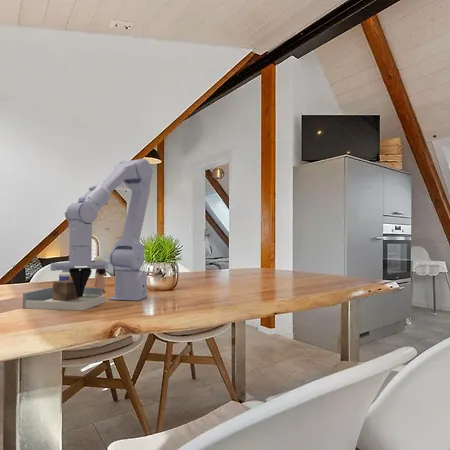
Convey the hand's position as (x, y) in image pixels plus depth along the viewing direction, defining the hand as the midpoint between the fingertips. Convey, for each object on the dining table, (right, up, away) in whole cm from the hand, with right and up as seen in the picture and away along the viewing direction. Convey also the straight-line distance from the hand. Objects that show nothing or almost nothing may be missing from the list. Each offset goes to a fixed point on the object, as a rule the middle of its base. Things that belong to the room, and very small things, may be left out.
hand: (79, 296), depth 100 cm
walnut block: (-4, -1, +2) cm, 5 cm away
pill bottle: (-12, -4, +20) cm, 24 cm away
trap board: (-5, -3, +4) cm, 7 cm away
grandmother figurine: (-4, -4, +27) cm, 28 cm away
